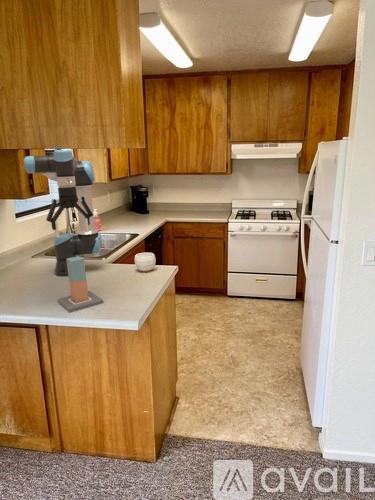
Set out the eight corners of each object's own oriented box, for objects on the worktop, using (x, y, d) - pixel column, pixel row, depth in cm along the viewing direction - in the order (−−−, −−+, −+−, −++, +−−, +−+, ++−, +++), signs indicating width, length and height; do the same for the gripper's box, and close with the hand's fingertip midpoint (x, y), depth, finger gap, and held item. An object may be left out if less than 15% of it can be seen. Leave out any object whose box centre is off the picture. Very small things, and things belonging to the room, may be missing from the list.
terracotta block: (71, 299, 168) (68, 279, 165) (83, 296, 171) (81, 276, 169) (76, 303, 163) (73, 282, 161) (88, 299, 167) (86, 279, 164)
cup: (156, 267, 219) (155, 251, 216) (155, 273, 207) (154, 257, 205) (136, 267, 219) (135, 252, 216) (134, 274, 207) (133, 258, 204)
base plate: (57, 302, 169) (57, 299, 169) (89, 293, 179) (89, 290, 178) (69, 312, 157) (69, 309, 156) (103, 302, 166) (103, 299, 166)
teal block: (68, 279, 165) (66, 258, 163) (81, 276, 169) (78, 256, 166) (73, 282, 161) (71, 261, 158) (86, 279, 164) (84, 258, 162)
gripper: (39, 189, 144) (46, 240, 149) (97, 184, 159) (101, 231, 164) (34, 188, 150) (41, 237, 155) (90, 184, 164) (95, 229, 170)
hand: (72, 234), depth 160 cm, fingers open, 13 cm apart
